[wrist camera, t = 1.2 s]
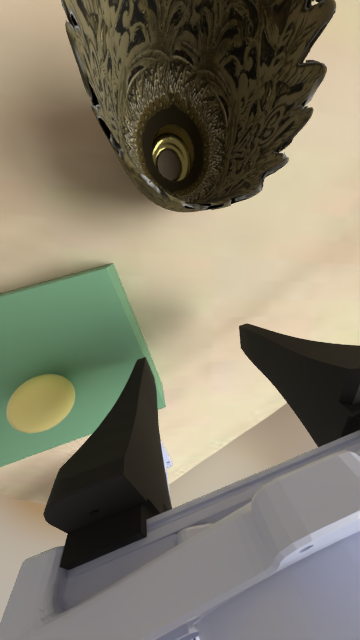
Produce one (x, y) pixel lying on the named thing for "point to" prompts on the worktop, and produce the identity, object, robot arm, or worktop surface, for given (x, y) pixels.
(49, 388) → the ball
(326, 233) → the worktop surface
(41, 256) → the worktop surface
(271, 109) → the cup
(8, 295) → the green rectangular slab
